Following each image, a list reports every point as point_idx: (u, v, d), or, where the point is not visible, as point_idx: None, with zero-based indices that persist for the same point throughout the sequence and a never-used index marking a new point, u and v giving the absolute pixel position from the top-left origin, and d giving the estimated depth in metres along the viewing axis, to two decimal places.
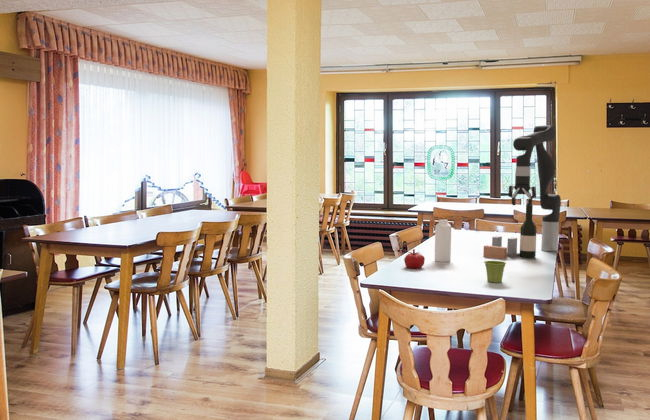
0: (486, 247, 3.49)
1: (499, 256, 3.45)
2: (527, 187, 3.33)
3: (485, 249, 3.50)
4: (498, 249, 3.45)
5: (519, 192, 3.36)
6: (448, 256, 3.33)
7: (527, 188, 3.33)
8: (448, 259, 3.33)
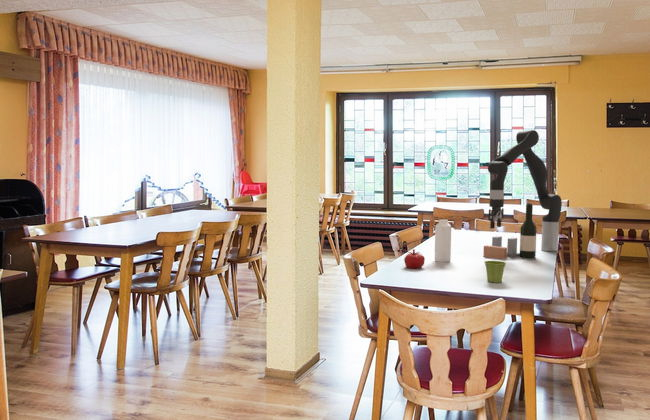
0: (486, 247, 3.49)
1: (499, 256, 3.45)
2: (500, 209, 3.48)
3: (485, 249, 3.50)
4: (498, 249, 3.45)
5: None
6: (448, 256, 3.33)
7: (500, 210, 3.48)
8: (448, 259, 3.33)
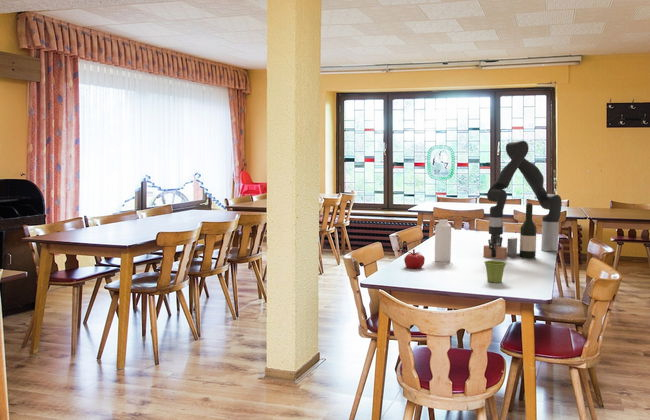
0: (486, 247, 3.49)
1: (499, 256, 3.45)
2: (499, 236, 3.49)
3: (485, 249, 3.50)
4: (498, 249, 3.45)
5: None
6: (448, 256, 3.33)
7: (499, 237, 3.49)
8: (448, 259, 3.33)
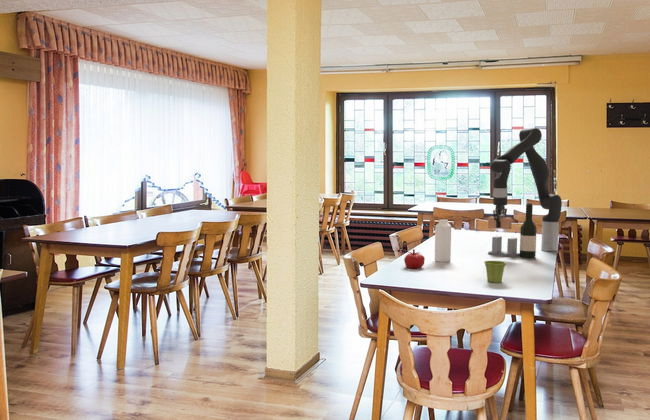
0: (491, 218, 3.50)
1: (504, 226, 3.45)
2: (504, 207, 3.50)
3: (490, 220, 3.50)
4: (503, 219, 3.46)
5: None
6: (448, 256, 3.33)
7: None
8: (448, 259, 3.33)
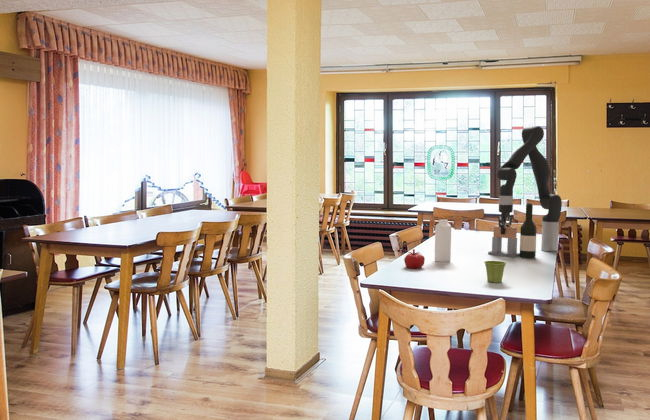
0: (496, 227, 3.55)
1: (509, 236, 3.51)
2: (509, 214, 3.55)
3: (495, 229, 3.56)
4: (508, 229, 3.51)
5: None
6: (448, 256, 3.33)
7: (509, 215, 3.55)
8: (448, 259, 3.33)
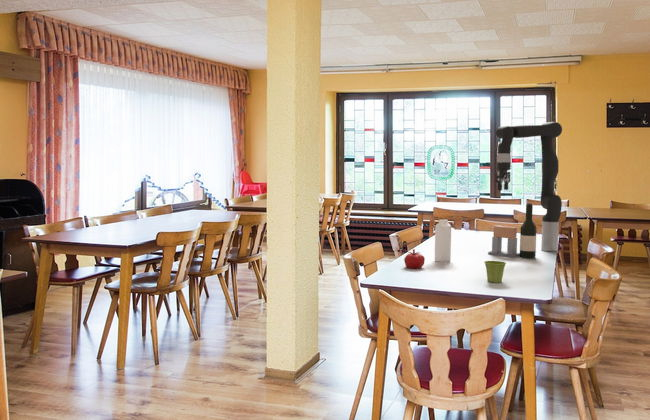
0: (496, 227, 3.55)
1: (509, 236, 3.51)
2: (507, 172, 3.62)
3: (495, 229, 3.56)
4: (508, 229, 3.51)
5: None
6: (448, 256, 3.33)
7: (507, 173, 3.62)
8: (448, 259, 3.33)
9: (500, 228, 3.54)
